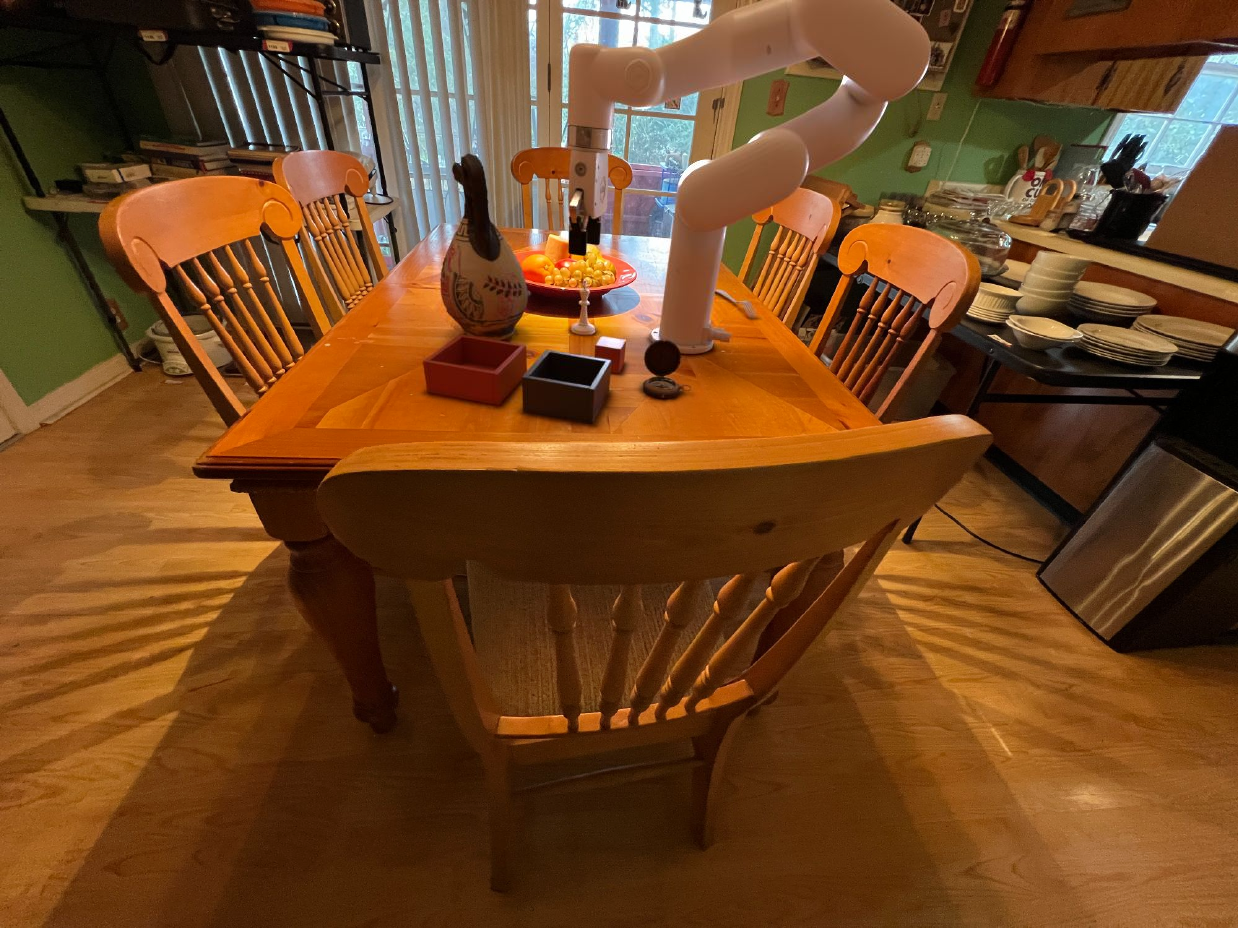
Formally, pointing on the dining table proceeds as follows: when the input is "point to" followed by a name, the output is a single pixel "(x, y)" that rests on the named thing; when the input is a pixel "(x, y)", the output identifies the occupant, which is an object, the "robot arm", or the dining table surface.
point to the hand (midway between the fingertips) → (584, 249)
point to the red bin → (476, 369)
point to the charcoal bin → (566, 386)
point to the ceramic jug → (481, 265)
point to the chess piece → (583, 315)
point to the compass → (662, 369)
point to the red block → (611, 352)
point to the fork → (739, 302)
